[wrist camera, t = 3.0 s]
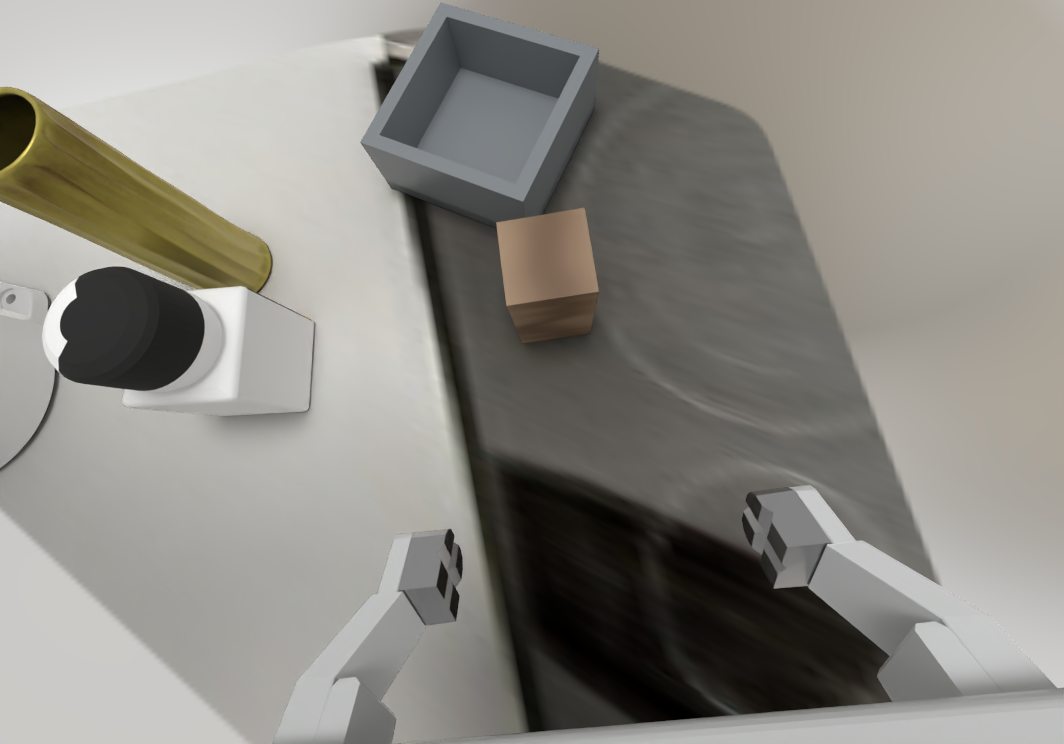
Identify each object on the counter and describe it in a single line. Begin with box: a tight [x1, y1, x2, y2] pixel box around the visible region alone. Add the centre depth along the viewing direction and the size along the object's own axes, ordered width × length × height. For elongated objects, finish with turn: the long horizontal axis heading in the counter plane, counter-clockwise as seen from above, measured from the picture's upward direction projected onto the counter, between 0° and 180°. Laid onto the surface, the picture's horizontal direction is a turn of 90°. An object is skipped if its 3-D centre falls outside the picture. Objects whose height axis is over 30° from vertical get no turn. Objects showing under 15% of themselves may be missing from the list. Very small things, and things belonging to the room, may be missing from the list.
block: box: [496, 208, 599, 343], centre depth 26 cm, size 5×5×8 cm
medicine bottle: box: [42, 267, 314, 416], centre depth 25 cm, size 7×7×12 cm
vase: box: [0, 87, 271, 292], centre depth 25 cm, size 6×6×14 cm
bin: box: [360, 3, 599, 228], centre depth 30 cm, size 13×13×5 cm
